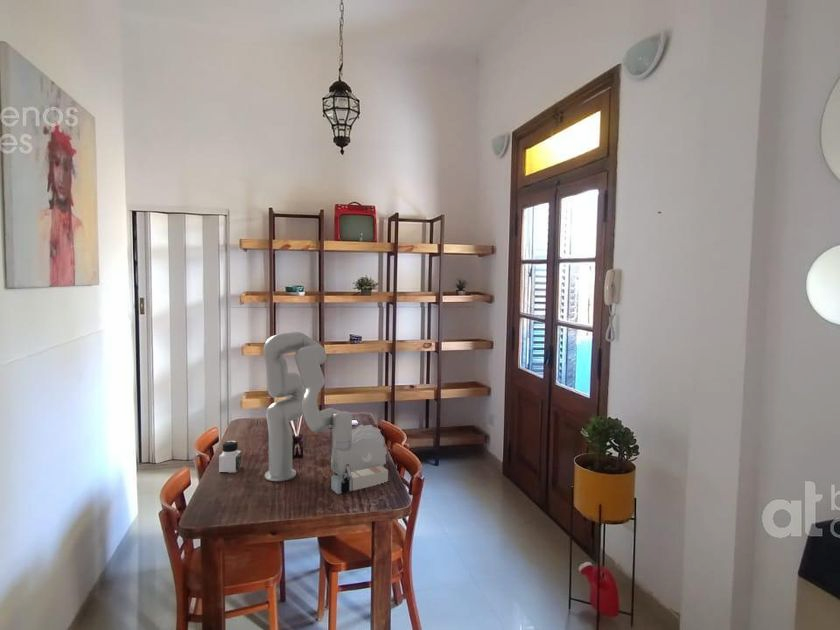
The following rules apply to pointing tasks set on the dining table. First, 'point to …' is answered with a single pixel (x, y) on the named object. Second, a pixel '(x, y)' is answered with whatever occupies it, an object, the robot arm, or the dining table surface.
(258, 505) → the dining table surface
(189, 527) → the dining table surface
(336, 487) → the grey box
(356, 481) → the block
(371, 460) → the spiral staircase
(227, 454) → the medicine bottle
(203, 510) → the dining table surface
